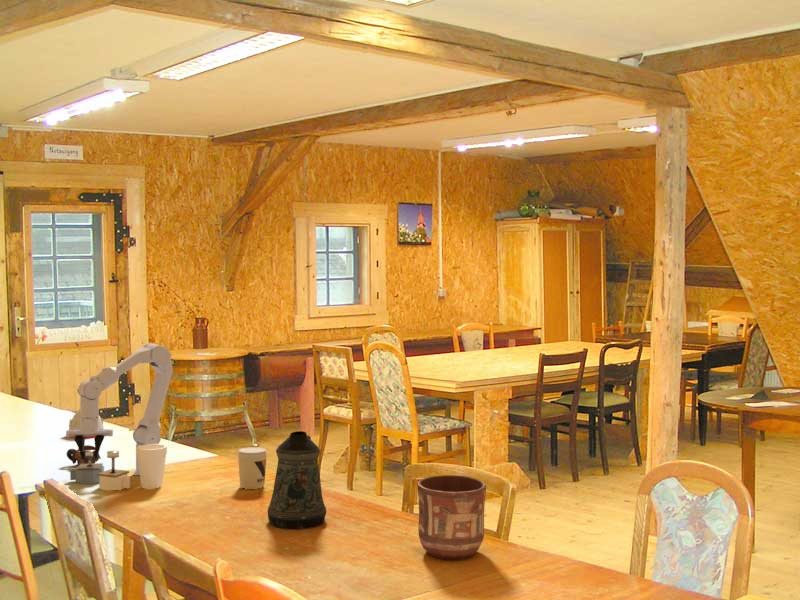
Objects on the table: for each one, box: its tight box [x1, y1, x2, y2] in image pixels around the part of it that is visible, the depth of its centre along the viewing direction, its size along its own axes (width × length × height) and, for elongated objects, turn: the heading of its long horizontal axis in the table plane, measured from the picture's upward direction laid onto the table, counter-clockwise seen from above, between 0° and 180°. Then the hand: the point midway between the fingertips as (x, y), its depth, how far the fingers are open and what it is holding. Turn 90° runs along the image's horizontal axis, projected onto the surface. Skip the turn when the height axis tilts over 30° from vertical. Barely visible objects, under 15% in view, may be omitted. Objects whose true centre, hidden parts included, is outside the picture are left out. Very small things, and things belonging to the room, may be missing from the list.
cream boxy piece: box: [97, 468, 131, 491], centre depth 304 cm, size 10×8×5 cm
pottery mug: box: [66, 444, 102, 467], centre depth 335 cm, size 12×10×8 cm
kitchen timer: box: [68, 409, 105, 439], centre depth 391 cm, size 14×14×15 cm
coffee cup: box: [237, 446, 268, 490], centre depth 307 cm, size 9×9×12 cm
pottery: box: [416, 474, 487, 561], centre depth 241 cm, size 18×18×18 cm
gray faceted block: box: [69, 462, 105, 485], centre depth 313 cm, size 10×8×5 cm
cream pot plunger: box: [106, 450, 120, 473], centre depth 304 cm, size 4×4×7 cm
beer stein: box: [267, 430, 327, 531], centre depth 269 cm, size 16×19×25 cm
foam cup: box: [135, 443, 168, 490], centre depth 306 cm, size 10×9×13 cm
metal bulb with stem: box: [84, 450, 95, 467], centre depth 313 cm, size 4×4×7 cm
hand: (89, 458), depth 313 cm, fingers closed on metal bulb with stem, 4 cm apart
